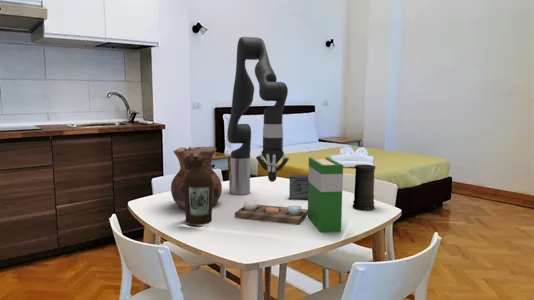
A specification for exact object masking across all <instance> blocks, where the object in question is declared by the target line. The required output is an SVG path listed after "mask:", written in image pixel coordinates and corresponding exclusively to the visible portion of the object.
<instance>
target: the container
mask: <svg viewBox="0 0 534 300" xmlns="http://www.w3.org/2000/svg"><path fill="white" fill-rule="evenodd" d="M354 169H355V170H354V171H355V175H354V176H355V178H354V194H353V198H354V199H353V204H352V208H353V209H355V210H357V211H364V210H367V211H372V210H373V211H374V210H375V199H374V198H375V195H374V194H375V193H374V192H375V190H374V189H375V172H376V171H375V170H376V166H375V165H372V164H355V165H354Z"/></svg>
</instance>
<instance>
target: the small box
mask: <svg viewBox="0 0 534 300" xmlns="http://www.w3.org/2000/svg"><path fill="white" fill-rule="evenodd" d="M288 200H295V201H296V200H301V201H308V174H306V175H305V174H290V175H289V198H288Z"/></svg>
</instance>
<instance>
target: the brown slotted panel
mask: <svg viewBox="0 0 534 300" xmlns="http://www.w3.org/2000/svg"><path fill="white" fill-rule="evenodd" d="M269 207H274V208H278V209H279V213H278V214H274V213H266V208H269ZM288 207H289V206H288ZM288 207H285V206H280V205H279V206H278V205H277V206H276V205H267V204H265V205H264V204H257V210H255V211H246V210H244V206H243V207H241V208H239V209H238V210H237V211H235V212H234V218H235V219H241V220H243V219H244V220H253V221H261V222H267V223H268V222H270V223H278V224H279V223H280V224H288V225H297V226H298V225H301V223H302V222H303V221H304V220H305V219H306V218H307V217H308V208H302V214H301V215H298V216H294V215H289V214H288Z"/></svg>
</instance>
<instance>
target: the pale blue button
mask: <svg viewBox="0 0 534 300" xmlns="http://www.w3.org/2000/svg"><path fill="white" fill-rule="evenodd" d="M302 209H303V207H302V206H300V205H289V206H288V214H289V215H294V216H298V215H301V214H302Z"/></svg>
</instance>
